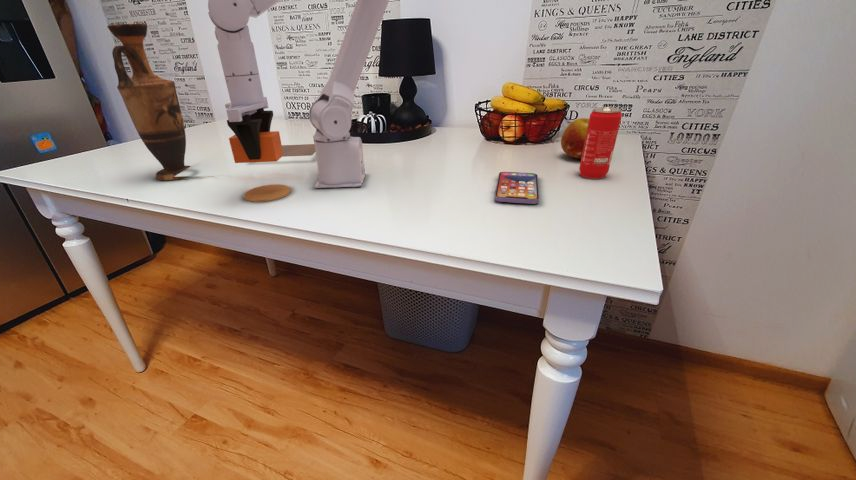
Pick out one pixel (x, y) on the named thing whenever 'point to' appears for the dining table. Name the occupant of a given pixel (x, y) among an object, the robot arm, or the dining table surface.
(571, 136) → the fruit
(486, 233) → the dining table surface
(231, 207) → the dining table surface
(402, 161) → the dining table surface
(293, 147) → the bread board
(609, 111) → the beverage can
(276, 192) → the cork coaster
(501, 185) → the smartphone
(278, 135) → the snack box
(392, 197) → the dining table surface
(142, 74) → the vase
